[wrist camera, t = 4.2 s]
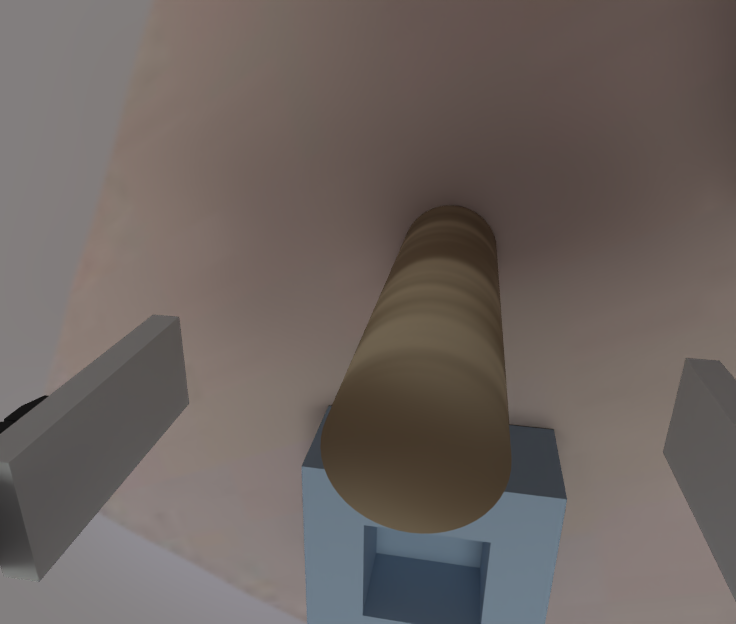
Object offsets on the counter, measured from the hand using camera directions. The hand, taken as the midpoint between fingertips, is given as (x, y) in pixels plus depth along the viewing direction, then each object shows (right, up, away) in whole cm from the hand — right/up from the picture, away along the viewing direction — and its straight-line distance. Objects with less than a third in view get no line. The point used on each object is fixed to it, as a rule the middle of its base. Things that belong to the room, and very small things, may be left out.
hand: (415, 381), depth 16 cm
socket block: (+2, -8, +16) cm, 18 cm away
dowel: (+2, +5, +10) cm, 12 cm away
